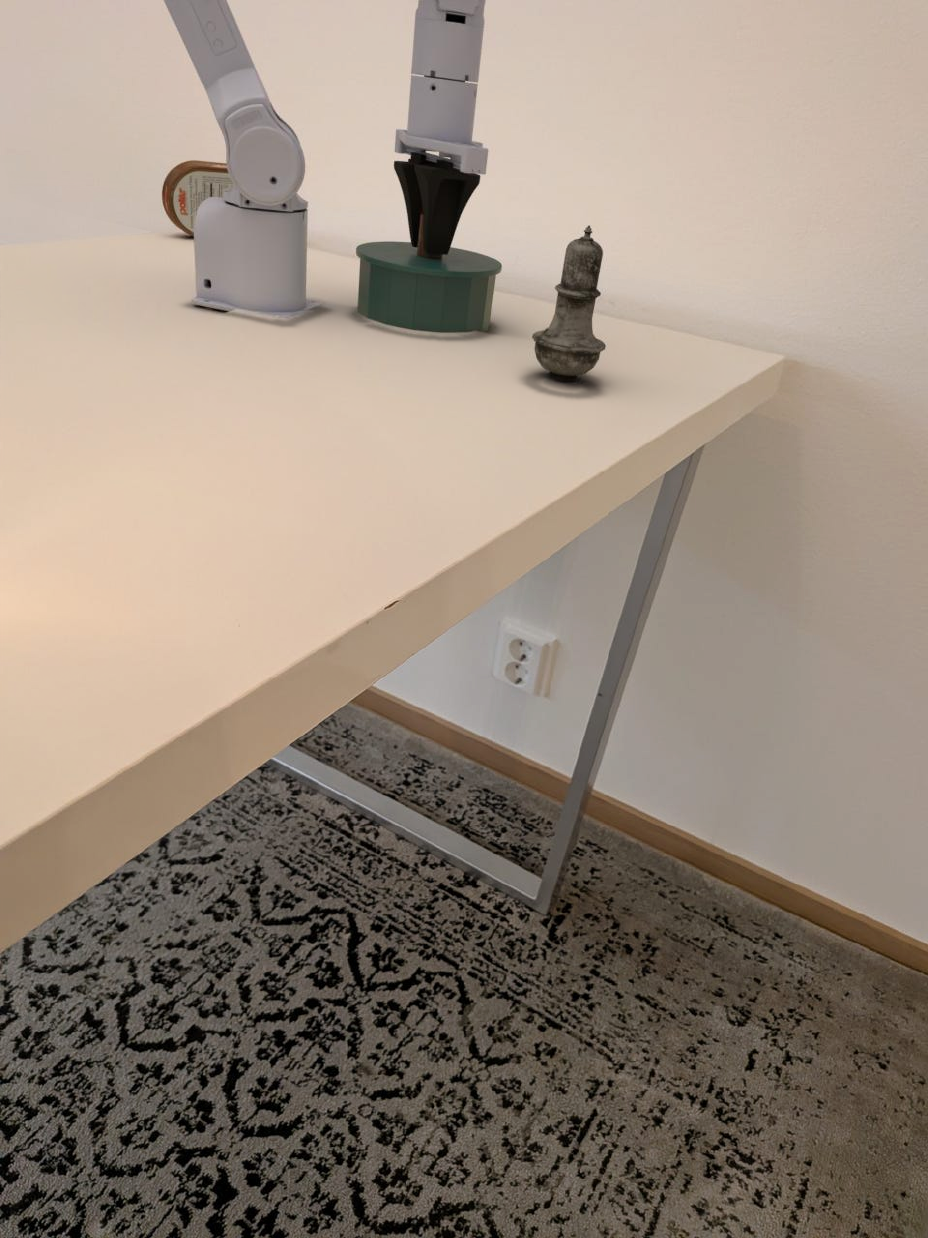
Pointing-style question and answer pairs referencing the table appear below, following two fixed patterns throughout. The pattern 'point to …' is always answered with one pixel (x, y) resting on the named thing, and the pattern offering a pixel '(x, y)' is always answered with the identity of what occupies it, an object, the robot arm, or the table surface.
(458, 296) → the canister
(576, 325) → the salt shaker
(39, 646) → the table surface
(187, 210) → the tin
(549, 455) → the table surface
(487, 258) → the lid
